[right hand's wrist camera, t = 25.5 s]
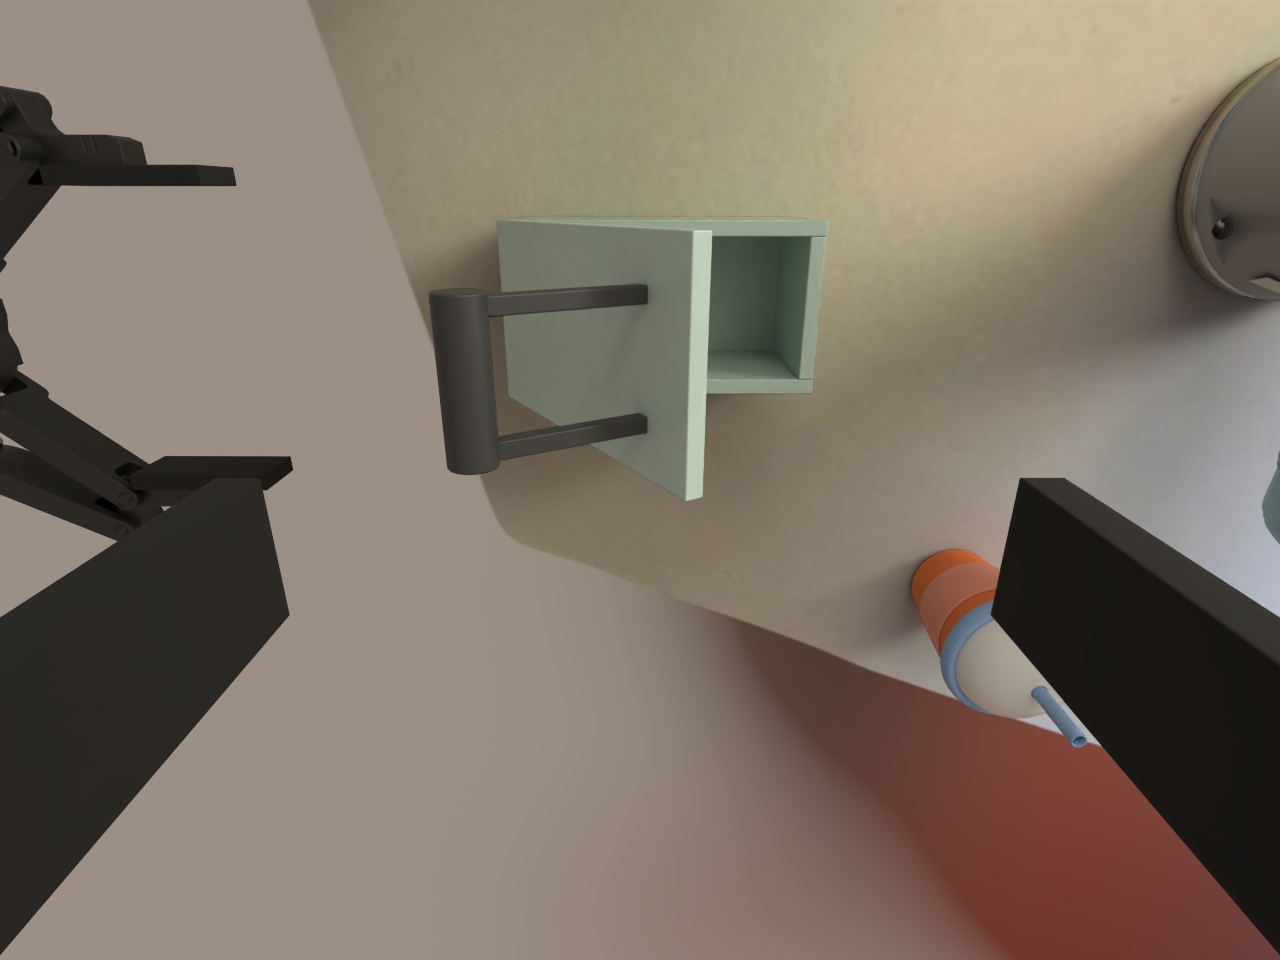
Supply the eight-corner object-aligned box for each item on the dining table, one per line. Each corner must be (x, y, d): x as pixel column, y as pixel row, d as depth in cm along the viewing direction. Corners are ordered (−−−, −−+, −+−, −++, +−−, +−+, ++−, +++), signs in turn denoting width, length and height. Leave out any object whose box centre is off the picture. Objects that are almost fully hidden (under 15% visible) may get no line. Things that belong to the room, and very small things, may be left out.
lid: (713, 230, 23) (453, 235, 19) (702, 497, 27) (482, 552, 22) (510, 219, 37) (337, 221, 33) (521, 394, 41) (366, 416, 37)
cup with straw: (884, 628, 58) (982, 800, 41) (902, 529, 55) (1018, 673, 38) (992, 631, 58) (1134, 804, 41) (1018, 533, 55) (1184, 677, 38)
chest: (792, 216, 46) (828, 219, 38) (781, 360, 50) (812, 394, 41) (530, 216, 46) (504, 219, 38) (538, 359, 50) (516, 393, 41)
